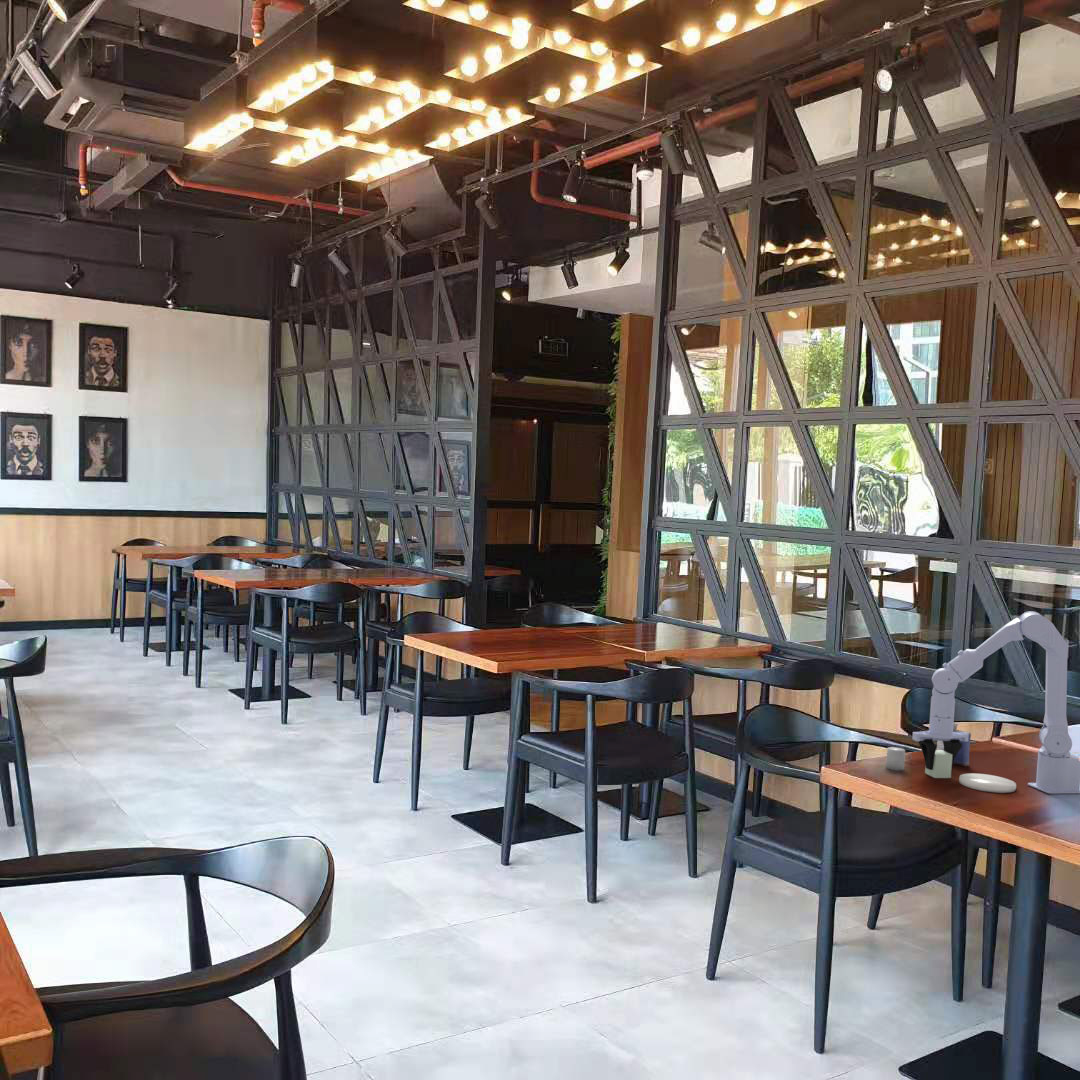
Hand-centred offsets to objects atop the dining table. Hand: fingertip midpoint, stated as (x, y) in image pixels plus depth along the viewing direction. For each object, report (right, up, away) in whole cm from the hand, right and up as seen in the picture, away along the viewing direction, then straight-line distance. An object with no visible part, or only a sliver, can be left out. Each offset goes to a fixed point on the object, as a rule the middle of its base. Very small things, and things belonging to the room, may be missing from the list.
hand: (938, 768), depth 274 cm
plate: (+9, -3, -7) cm, 12 cm away
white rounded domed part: (-9, -1, +5) cm, 11 cm away
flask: (+9, -2, +15) cm, 18 cm away
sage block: (0, -2, 0) cm, 2 cm away
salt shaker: (+4, -2, +9) cm, 10 cm away
